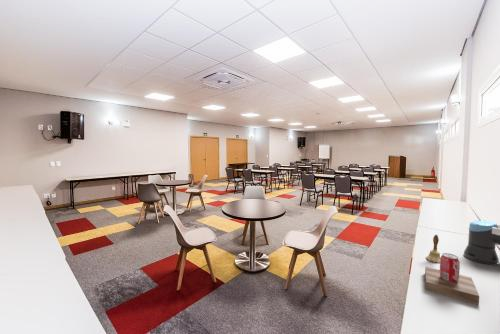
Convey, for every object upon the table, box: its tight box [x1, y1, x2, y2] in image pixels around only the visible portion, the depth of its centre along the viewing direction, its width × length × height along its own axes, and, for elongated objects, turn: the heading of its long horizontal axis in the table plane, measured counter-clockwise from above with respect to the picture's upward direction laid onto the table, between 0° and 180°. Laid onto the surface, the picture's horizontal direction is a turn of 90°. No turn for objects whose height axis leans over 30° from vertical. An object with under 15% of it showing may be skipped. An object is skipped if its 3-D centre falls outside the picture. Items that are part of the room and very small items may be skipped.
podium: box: [424, 266, 480, 306], centre depth 109 cm, size 18×18×4 cm
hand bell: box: [425, 234, 441, 264], centre depth 137 cm, size 8×8×16 cm
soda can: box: [439, 252, 461, 283], centre depth 109 cm, size 7×7×12 cm
